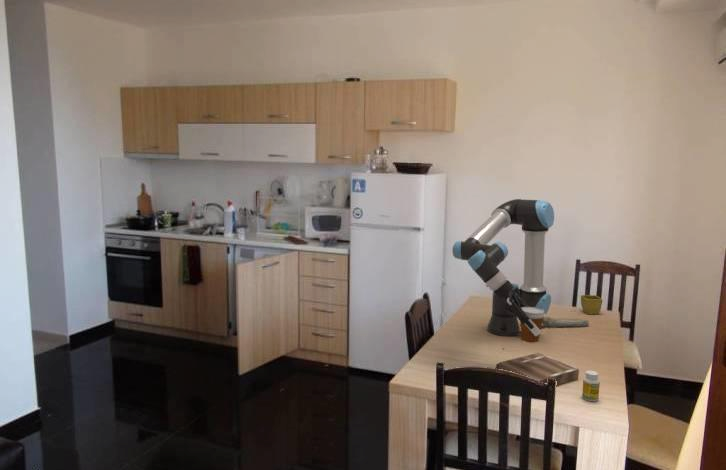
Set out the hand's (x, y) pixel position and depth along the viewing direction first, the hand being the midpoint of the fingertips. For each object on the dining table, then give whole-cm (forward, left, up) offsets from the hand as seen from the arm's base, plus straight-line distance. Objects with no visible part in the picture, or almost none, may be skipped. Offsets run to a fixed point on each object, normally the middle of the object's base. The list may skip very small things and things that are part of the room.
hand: (539, 330), depth 208 cm
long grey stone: (-57, -41, -19) cm, 72 cm away
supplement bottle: (-1, +23, -19) cm, 30 cm away
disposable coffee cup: (+2, -3, -4) cm, 6 cm away
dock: (0, 0, -18) cm, 18 cm away
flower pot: (-91, -46, -19) cm, 104 cm away
